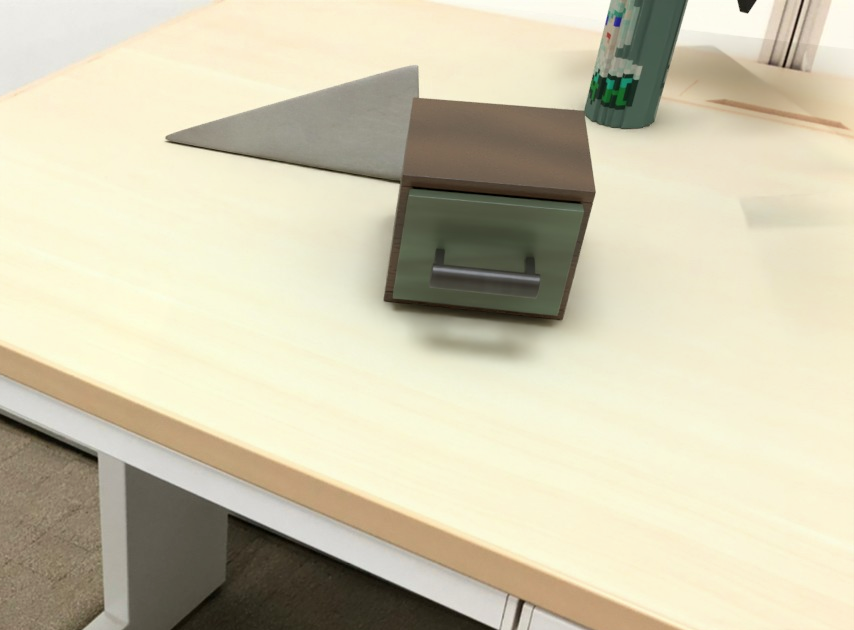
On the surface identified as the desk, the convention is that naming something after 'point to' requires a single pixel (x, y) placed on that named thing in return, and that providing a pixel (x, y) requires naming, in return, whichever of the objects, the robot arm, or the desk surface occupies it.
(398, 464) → the desk surface
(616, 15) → the can
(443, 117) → the cabinet
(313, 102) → the grey triangular wedge
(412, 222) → the drawer
